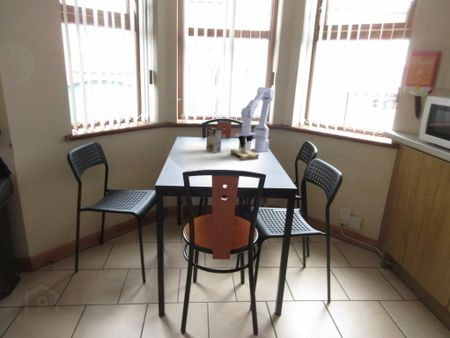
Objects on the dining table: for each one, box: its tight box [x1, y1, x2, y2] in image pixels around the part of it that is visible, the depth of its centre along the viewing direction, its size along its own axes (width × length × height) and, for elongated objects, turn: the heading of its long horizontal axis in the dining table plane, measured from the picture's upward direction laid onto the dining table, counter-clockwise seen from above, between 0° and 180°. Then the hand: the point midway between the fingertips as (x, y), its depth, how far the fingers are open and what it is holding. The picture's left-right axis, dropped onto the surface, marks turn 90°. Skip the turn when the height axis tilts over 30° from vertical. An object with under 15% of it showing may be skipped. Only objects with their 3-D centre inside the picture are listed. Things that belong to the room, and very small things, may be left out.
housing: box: [238, 139, 252, 152], centre depth 205 cm, size 4×8×7 cm, turn 28°
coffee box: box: [205, 126, 223, 154], centre depth 214 cm, size 9×6×16 cm
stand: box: [230, 148, 260, 161], centre depth 207 cm, size 12×16×3 cm
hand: (244, 147), depth 206 cm, fingers closed on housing, 4 cm apart
